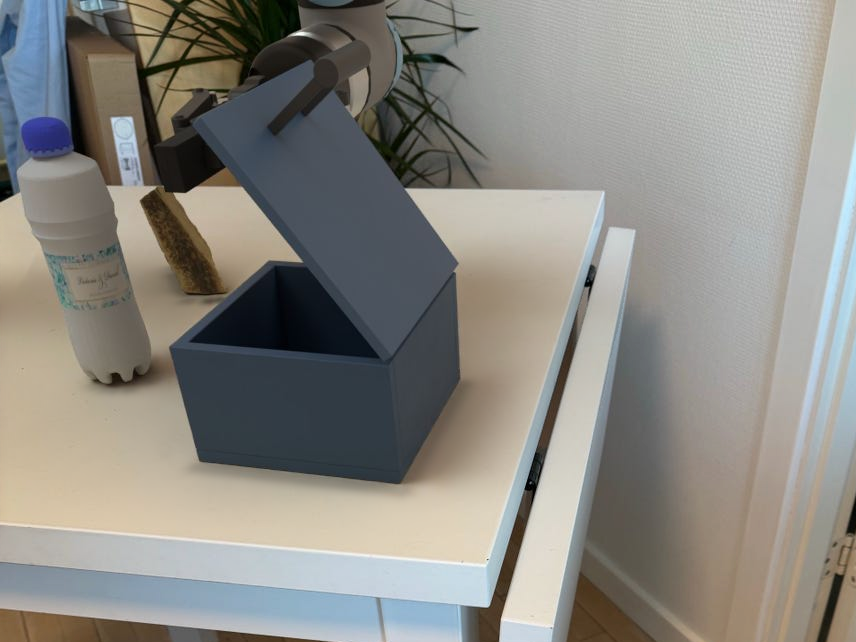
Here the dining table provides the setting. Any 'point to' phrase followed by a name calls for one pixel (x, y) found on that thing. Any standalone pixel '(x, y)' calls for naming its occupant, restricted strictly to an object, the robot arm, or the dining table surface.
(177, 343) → the blue-grey open box
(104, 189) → the bottle
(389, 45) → the robot arm
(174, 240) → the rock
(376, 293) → the lid
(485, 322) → the dining table surface
